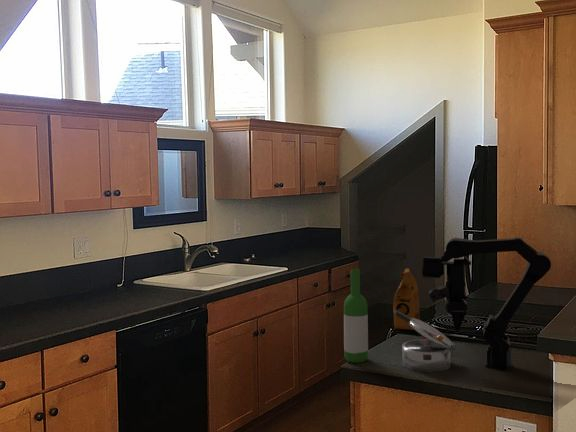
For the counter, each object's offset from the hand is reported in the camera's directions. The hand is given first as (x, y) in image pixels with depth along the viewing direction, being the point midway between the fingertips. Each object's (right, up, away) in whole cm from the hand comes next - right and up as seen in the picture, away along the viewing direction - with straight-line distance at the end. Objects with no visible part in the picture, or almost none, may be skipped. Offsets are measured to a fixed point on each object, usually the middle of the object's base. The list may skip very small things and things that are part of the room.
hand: (456, 327), depth 207 cm
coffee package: (-7, -8, +48) cm, 49 cm away
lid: (-10, -1, 0) cm, 10 cm away
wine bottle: (-31, -12, +7) cm, 34 cm away
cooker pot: (-9, -12, +1) cm, 15 cm away
